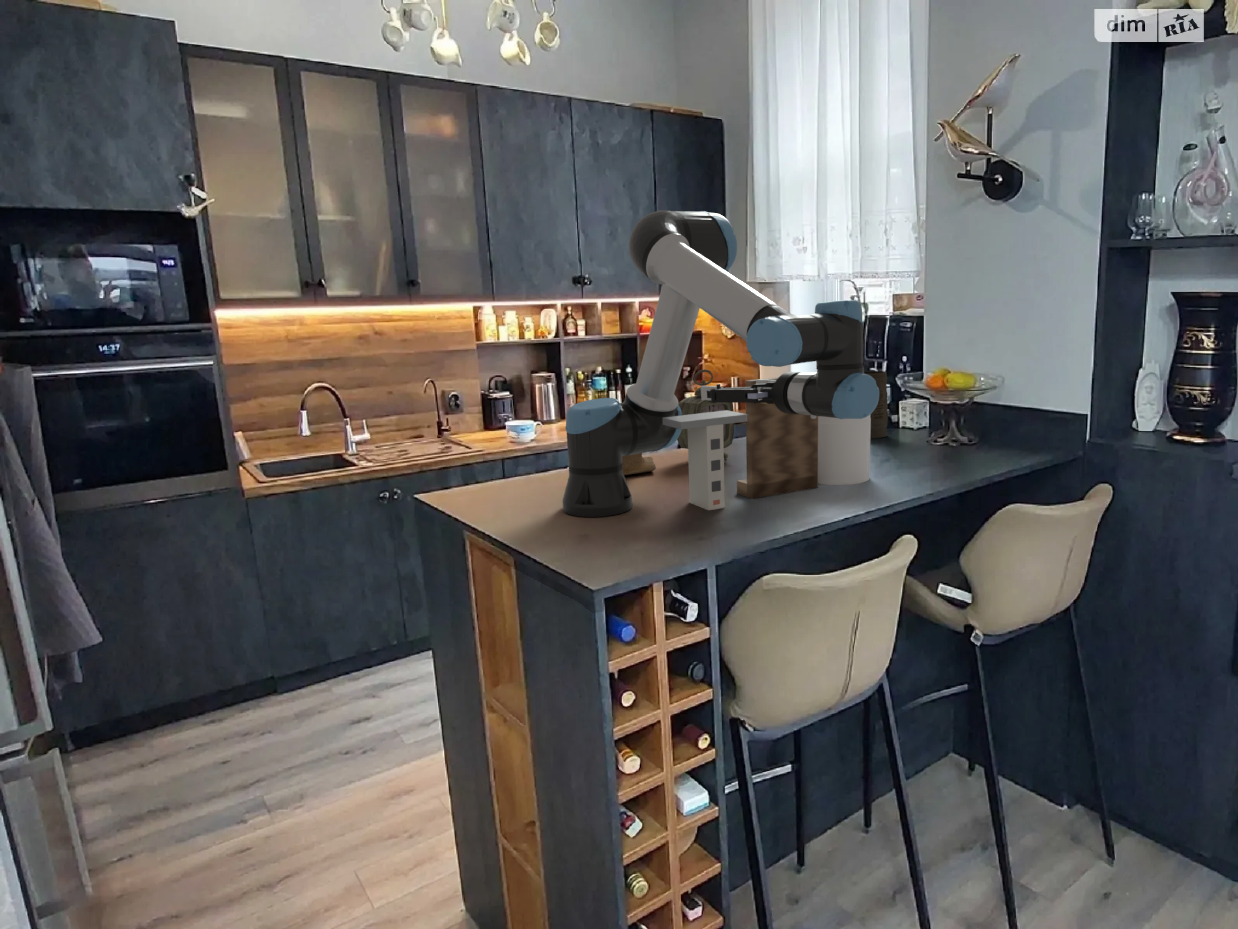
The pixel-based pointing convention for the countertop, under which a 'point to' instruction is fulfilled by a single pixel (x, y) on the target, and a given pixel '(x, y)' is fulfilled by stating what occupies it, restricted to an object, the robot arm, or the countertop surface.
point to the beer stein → (879, 406)
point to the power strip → (706, 454)
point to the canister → (843, 450)
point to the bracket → (778, 451)
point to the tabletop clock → (703, 406)
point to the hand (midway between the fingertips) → (730, 389)
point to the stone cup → (637, 464)
